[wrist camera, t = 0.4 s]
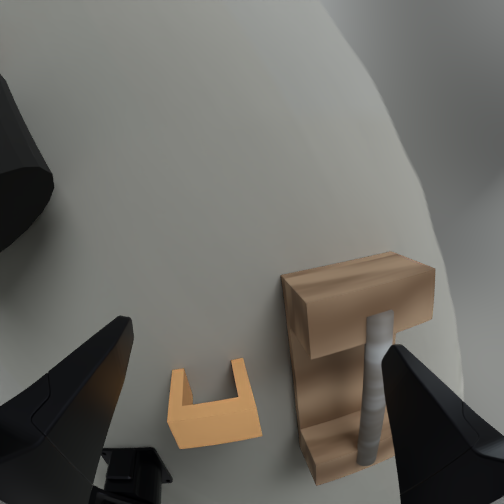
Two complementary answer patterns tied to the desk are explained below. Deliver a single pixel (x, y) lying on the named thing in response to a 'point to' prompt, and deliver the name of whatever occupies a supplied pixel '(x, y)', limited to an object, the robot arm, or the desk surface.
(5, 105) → the black cylinder
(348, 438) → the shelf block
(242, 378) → the tan u-shaped bracket
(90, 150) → the desk surface
